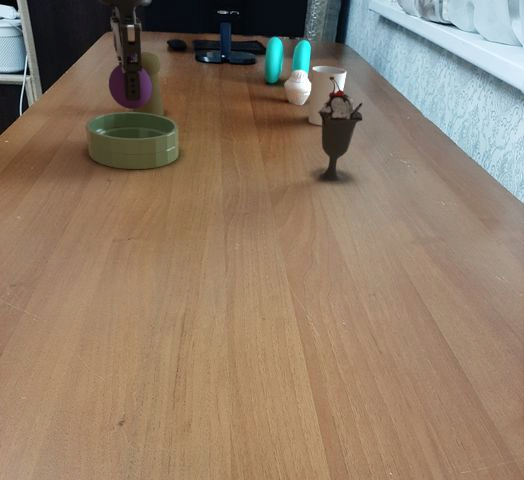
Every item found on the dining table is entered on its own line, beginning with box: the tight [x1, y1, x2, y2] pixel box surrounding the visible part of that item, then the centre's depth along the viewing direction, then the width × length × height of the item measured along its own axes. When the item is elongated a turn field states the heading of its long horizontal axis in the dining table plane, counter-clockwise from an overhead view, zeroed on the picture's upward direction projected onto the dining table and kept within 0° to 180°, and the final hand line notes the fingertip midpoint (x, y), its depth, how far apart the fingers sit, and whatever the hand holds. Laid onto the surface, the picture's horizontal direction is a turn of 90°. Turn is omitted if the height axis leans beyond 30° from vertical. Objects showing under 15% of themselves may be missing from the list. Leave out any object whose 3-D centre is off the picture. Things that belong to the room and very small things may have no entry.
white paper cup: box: [308, 65, 347, 127], centre depth 112 cm, size 7×7×10 cm
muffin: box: [283, 69, 311, 106], centre depth 124 cm, size 6×6×7 cm
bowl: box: [85, 111, 180, 170], centre depth 92 cm, size 14×14×5 cm
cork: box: [131, 51, 165, 116], centre depth 108 cm, size 6×6×11 cm
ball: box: [108, 64, 152, 110], centre depth 87 cm, size 6×6×6 cm
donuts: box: [264, 36, 312, 84], centre depth 137 cm, size 10×10×10 cm
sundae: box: [318, 77, 363, 182], centre depth 87 cm, size 7×7×15 cm
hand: (130, 93), depth 87 cm, fingers closed on ball, 6 cm apart
